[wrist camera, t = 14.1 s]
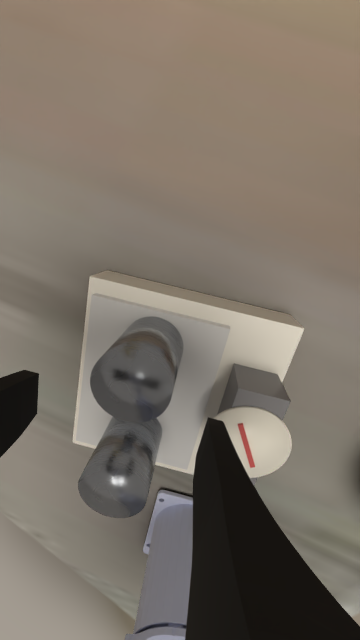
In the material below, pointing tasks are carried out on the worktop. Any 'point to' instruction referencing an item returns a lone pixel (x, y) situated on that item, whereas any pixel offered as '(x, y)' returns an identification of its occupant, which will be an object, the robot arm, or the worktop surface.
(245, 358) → the kitchen scale
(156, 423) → the cylinder
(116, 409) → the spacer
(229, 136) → the worktop surface
